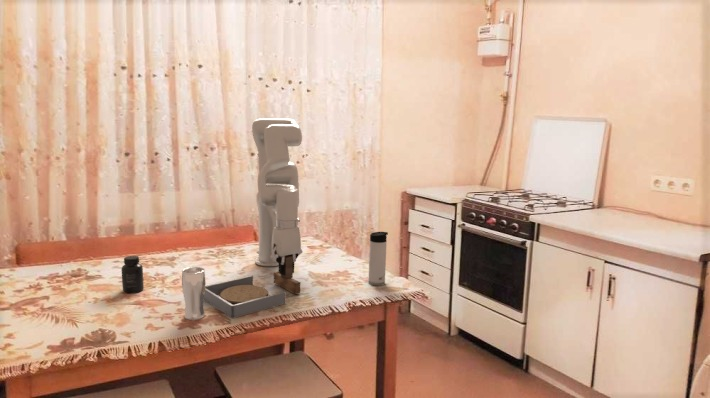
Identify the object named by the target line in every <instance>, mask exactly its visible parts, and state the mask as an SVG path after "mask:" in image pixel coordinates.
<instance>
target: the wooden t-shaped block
mask: <svg viewBox="0 0 710 398" xmlns="http://www.w3.org/2000/svg"><path fill="white" fill-rule="evenodd" d="M284 264H285V275H282V274H280V273H279V271H275V272H273V284H275V285H277V286H279V287H280V288H283V289H284V290H285V291H288V292H290V293H292V294H294V295H298V294H301V282H300V281H299V280H296V279H294V278H293V277H294V276H293V274H294V273H293V256H291V255H287V256H285V260H284Z"/></svg>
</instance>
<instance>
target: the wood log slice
mask: <svg viewBox="0 0 710 398" xmlns="http://www.w3.org/2000/svg"><path fill="white" fill-rule="evenodd" d="M265 296H269V291H268V289H267V288H265V287H263V286H260V285H255V284H253V285H239V286H233V287H229V288H227V289H224V290H223V291H222V292H221V294H220V295H219V297H221V298H223V299H224V300H226V301H228V302H229V303H231V304H232V305H235V304H239V303H242V302H246V301H250V300H254V299H258V298H262V297H265Z"/></svg>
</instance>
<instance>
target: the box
mask: <svg viewBox="0 0 710 398" xmlns="http://www.w3.org/2000/svg"><path fill="white" fill-rule="evenodd" d="M239 285H254V276H253V275H248V276H243V277H239V278H235V279H231V280H225V281H221V282H217V283H212V284H209V285H205V294H204V300H203V301H204V302H207V304H209V305H211V306H212V307H214V308H216V309H217V310H219V311H220V312H221V313H223V314H225V315H226V316H228V317H229V318H230V319H235V318H239V317H242V316H245V315H249V314H254V313H257V312H261V311H264V310H267V309H272V308H275V307H278V306H282V305H285V304H286V291H281V292H277V293H274V294H270V295H269V294H268V296H265V297H262V298H258V299H254V300H250V301H246V302H242V303H239V304H235V305H232V304H231V303H229V302H228V301H226V300H224V299H223V298H221V297H220V294H221V292H222V291H223V290H224V289H227V288H229V287H233V286H239Z"/></svg>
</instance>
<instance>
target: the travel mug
mask: <svg viewBox="0 0 710 398" xmlns="http://www.w3.org/2000/svg"><path fill="white" fill-rule="evenodd" d="M388 234H389V233H388V232H387V231H376V232H375V231H374V232H371V234H369V252H368V253H369V256H368V258H369V259H368V260H369V261H368V281H367V282H368V284H369V285H371V286H377V287H379V286H380V287H381V286H384V285H385V283H386V265H387V263H386V261H387V235H388Z"/></svg>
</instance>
